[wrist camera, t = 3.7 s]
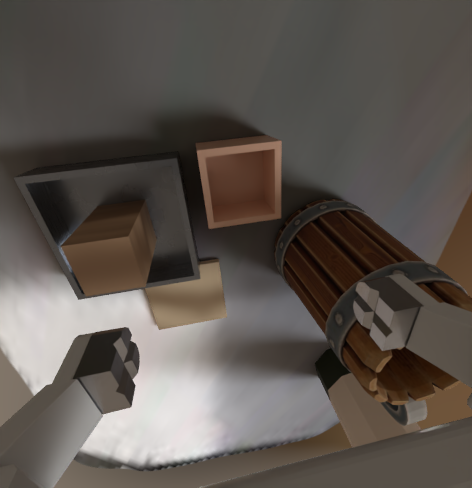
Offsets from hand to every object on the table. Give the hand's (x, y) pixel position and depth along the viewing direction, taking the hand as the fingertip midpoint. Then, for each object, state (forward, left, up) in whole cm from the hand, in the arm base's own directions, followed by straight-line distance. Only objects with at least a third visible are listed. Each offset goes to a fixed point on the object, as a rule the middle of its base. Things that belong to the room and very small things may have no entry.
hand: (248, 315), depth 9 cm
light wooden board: (+12, -4, -16) cm, 20 cm away
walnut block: (+2, -8, -15) cm, 17 cm away
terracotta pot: (-1, +2, -16) cm, 16 cm away
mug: (+10, +11, -16) cm, 22 cm away
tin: (+2, -8, -16) cm, 18 cm away
